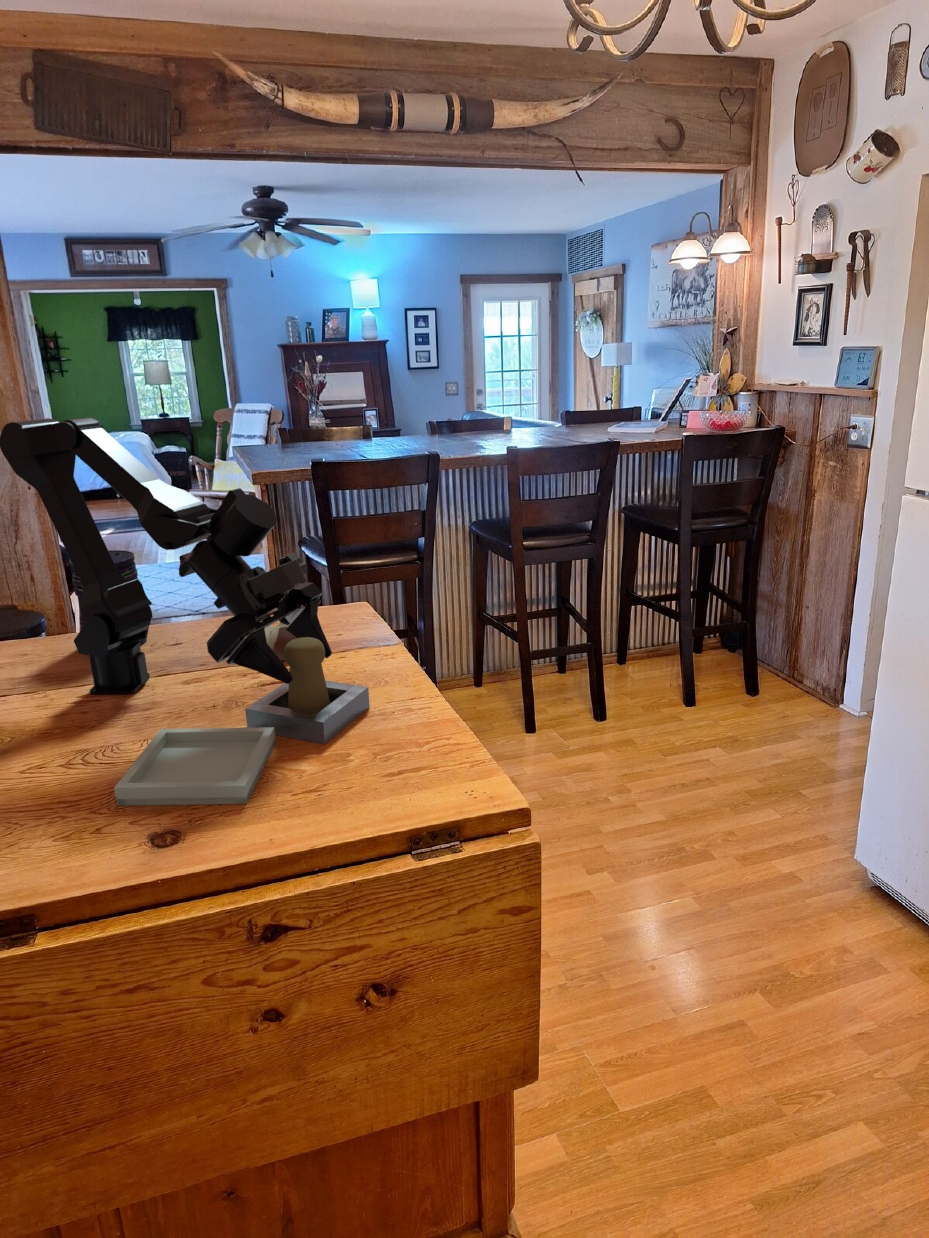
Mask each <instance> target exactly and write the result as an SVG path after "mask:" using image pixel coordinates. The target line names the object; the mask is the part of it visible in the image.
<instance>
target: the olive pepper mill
mask: <svg viewBox="0 0 929 1238" xmlns="http://www.w3.org/2000/svg"><path fill="white" fill-rule="evenodd" d="M284 658H285V660H284V661H285V663H286V665H287V666H288V667H289V669H288V670H289V672H290V673H291V675H292V676H293V680H292V681H291V682H290V683H289V690H288V708H290V709H296V710H301V711H307V712H313V713H319V712H320V711H321V710H323V709H324V708H325V707H327V706H328V705H329V704H330V700H329V695H328V691H327V686H326V682H325V680H326V677H325V674H324V669H323V664H322V663H323V662H324V660H325V659H326V658H325V649H324V646H323V644H322V642H321V641H320V640H318V639H316V638H311V637H303V638H297V639H294V640H291V641H290V642H288V643H287V644H286V646H285V648H284Z"/></svg>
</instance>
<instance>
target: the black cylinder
mask: <svg viewBox="0 0 929 1238" xmlns="http://www.w3.org/2000/svg"><path fill="white" fill-rule="evenodd" d="M108 551H109V553H110V555H111V557H112V559H113V562H114V564H115V566H116V568H117V570H118V572H119V573H120V574H121V575H123V576H124V577H125V578H127V579H128V580H129V581H132V580H135V579H138V580H139V578H138V576H139V574H138V568H137V565H136V562H135V553H134V552H132V551H128V550H122V549H121V550H118V549H115V550H112V549H111V550H108ZM69 565H70V567H71V569H70V571H71V581H72V582H71V583H72V585H73V591H74V595H76V597H77V601H78V602H77V603H78V608H79V613H80V616H79V624H80V630H81V629H82V628H83V627H84V625H85V624H86V621H85V618H84V615H83V613H82V609H81V605H82V595H83V585H82V582H81V580H80V578H79V576H78V574H77V572H76V570H75V568H74V566H73V564H72V562H71V560H70V559H69ZM146 641H148V637H147V638H146V639H142V640H140V641H138V642H140V646H141V645H142V646H144V645H145V644H147V642H146ZM144 643H145V644H144ZM143 644H144V645H143ZM142 646H141V647H142Z"/></svg>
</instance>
